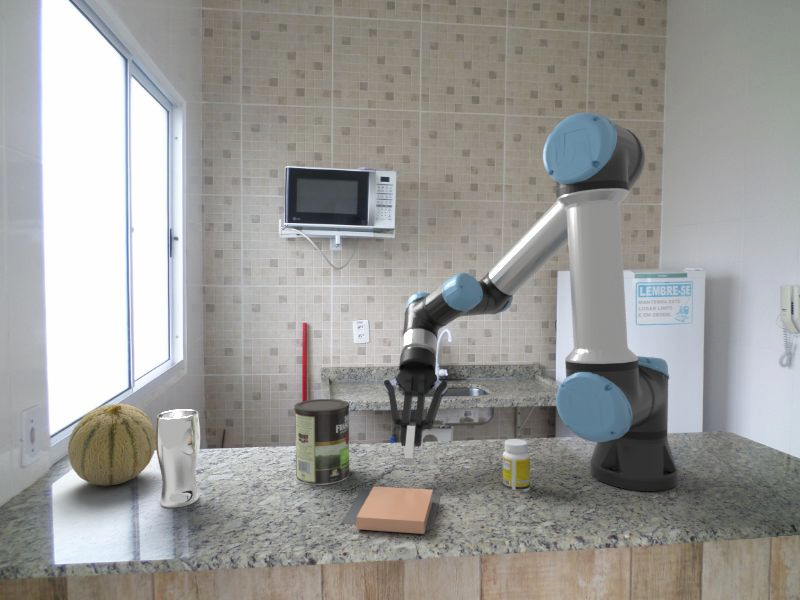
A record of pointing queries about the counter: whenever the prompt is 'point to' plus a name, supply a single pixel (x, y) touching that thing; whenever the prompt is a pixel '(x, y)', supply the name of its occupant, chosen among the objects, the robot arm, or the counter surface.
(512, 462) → the supplement bottle
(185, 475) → the beer glass
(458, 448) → the counter surface
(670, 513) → the counter surface
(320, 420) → the coffee can
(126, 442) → the cantaloupe
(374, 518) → the tile
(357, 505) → the mat
